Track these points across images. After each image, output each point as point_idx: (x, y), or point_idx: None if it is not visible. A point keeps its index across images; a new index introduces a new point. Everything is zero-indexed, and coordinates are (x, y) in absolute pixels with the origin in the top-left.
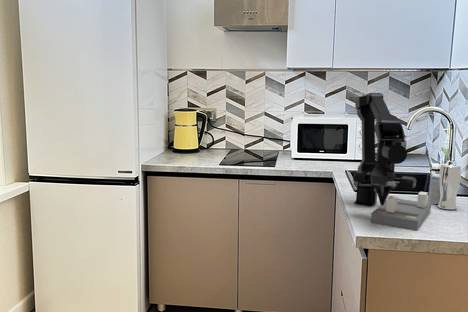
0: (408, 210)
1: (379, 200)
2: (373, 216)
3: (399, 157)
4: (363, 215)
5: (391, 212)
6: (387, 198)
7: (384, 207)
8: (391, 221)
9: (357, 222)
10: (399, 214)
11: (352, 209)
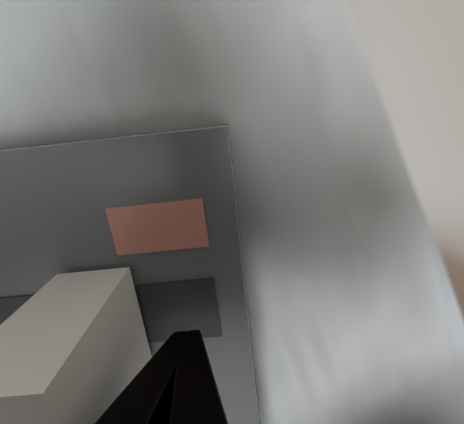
0: None
1: (208, 364)
2: (205, 128)
3: None
4: (334, 257)
5: None
6: (42, 390)
7: None
8: (43, 145)
9: (318, 37)
10: (7, 271)
11: (439, 334)
